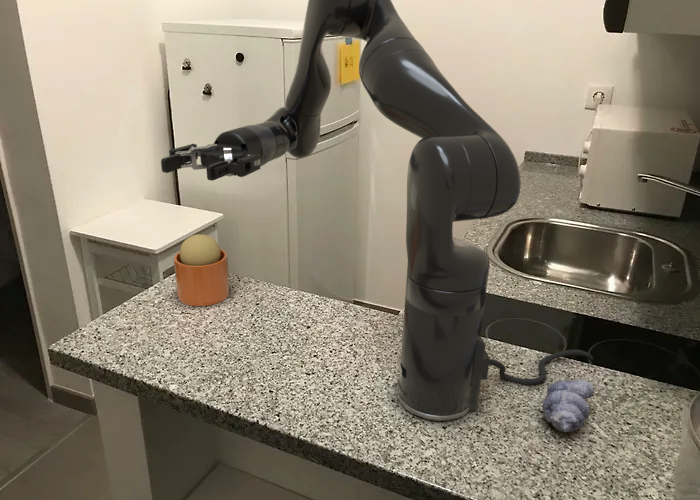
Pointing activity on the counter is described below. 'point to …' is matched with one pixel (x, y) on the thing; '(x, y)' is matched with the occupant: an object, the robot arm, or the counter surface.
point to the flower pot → (202, 281)
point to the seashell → (567, 404)
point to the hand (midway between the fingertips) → (185, 170)
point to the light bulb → (199, 250)
